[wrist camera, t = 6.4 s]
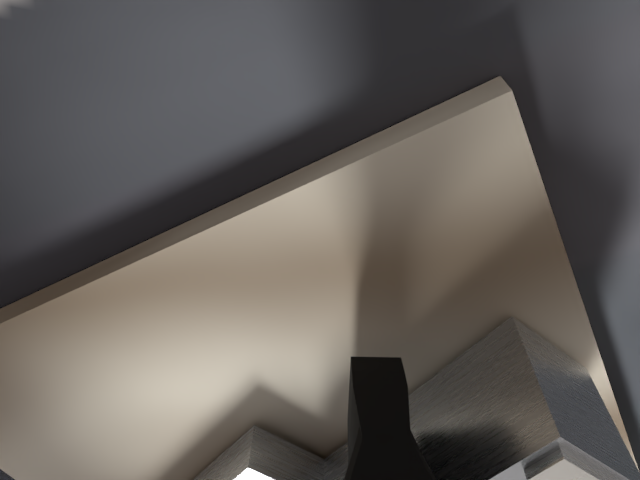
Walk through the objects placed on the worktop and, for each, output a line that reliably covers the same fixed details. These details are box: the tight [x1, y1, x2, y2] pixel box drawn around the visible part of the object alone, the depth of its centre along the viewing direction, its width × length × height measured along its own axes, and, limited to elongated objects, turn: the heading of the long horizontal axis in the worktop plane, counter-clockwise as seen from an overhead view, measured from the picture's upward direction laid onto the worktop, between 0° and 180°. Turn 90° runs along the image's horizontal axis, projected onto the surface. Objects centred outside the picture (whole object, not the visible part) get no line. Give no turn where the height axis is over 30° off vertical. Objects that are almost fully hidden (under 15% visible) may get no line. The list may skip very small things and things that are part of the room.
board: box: [0, 76, 639, 480], centre depth 16 cm, size 17×16×1 cm
